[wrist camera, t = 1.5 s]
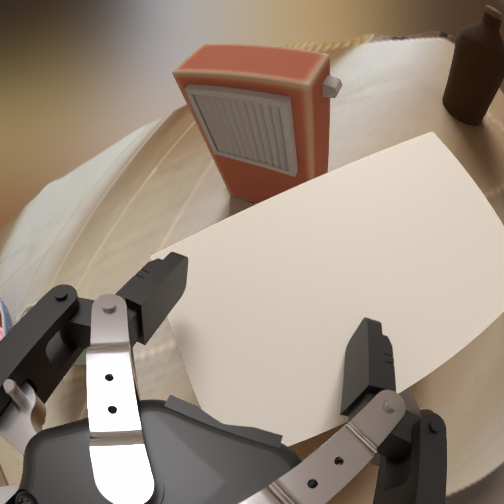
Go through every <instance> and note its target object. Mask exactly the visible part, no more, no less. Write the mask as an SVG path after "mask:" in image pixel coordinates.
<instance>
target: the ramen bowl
mask: <svg viewBox="0 0 504 504" xmlns="http://www.w3.org/2000/svg"><path fill="white" fill-rule="evenodd" d="M12 328H13V324H12V320H11V317H10V313H9V311H8V309H7V307H6V306H5V304H4V303H3V301H2V300H1V298H0V341H1V340H2V339H3V338H4V336H5V335H6V334H7V333H8V332H9V331H10V330H11V329H12Z"/></svg>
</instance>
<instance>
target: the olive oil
mask: <svg viewBox="0 0 504 504" xmlns="http://www.w3.org/2000/svg"><path fill="white" fill-rule="evenodd" d="M501 17H502V14H501V12H499V11H498V10H496V9H495V8H493V7H491V6H488V5H485V10H484V12H483V18H482V21H481V22H478V23H474V24H471V25H468V26H465V27H464V28H462V29H461V30H460V32H459V33H458V35H457V38H456V44H455V49H454V55H453V60H452V64H451V69H450V73H449V77H448V81H447V85H446V88H445V92H444V95H443V103H444V105H445V107H446V109H447V110H448V111H449V112H450V113H451V114H452V115H453V116H455V117H456V118H457V119H459V120H460V121H462V122H464V123H467V124H470V125H478V124H480V123H481V121H482V119H483V117H484V116H485V114H486V112H487V110H488V108H489V106H490V104H491V102H492V100H493V98H494V96H495V95H496V93H497V91H498V89H499V87H500V85H501V83H502V81H503V79H504V42H503V39H502V37H501V35H500V33H499V28H500V25H501V22H502V21H501Z"/></svg>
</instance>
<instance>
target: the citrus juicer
mask: <svg viewBox="0 0 504 504" xmlns="http://www.w3.org/2000/svg"><path fill="white" fill-rule="evenodd" d="M19 486H20V485H12V486H3V487H0V504H4V503H6V502H7V501H8V500H9V499H10V498H11V497H12V496H13V495H14V494H15V493H16V491H17V490H18V488H19Z"/></svg>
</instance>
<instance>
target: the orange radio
mask: <svg viewBox="0 0 504 504" xmlns="http://www.w3.org/2000/svg"><path fill="white" fill-rule="evenodd" d="M173 76H174V77H175V79H176V82H177V84H178V86H179V88H180V90H181V92H182V94H183V96H184V98H185V100H186V103H187V105H188V107H189V109H190V111H191V113H192V115H193V117H194V119H195V121H196V124H197V126H198V128H199V130H200V132H201V134H202V136H203V138H204V140H205V142H206V145H207V147H208V149H209V151H210V153H211V155H212V157H213V159H214V161H215V163H216V166H217V168H218V170H219V172H220V174H221V176H222V178H223V180H224V182H225V185H226V187H227V189H228V191H229V193H230V194H231V195H233V196H236V197H239V198H242V199H245V200H248V201H251V202H254V203H257V204H258V203H260V202H262V201H265V200H267V199H269V198H271V197H273V196H276V195H278V194H280V193H282V192H285V191H287V190H289V189H291V188H294V187H296V186H298V185H300V184H303V183H305V182H307V181H310V180H312V179H314V178H317V177H319V176H321V175H324V174H326V173H328V154H329V126H330V98H335V97H336V96H337V94H338V92H339V90H340V88H341V86H342V83H341V81H340V79H338V78H335V77H333V76H330V57H329V55H328V54H325V53H319V52H313V51H307V50H300V49H293V48H284V47H273V46H263V45H246V44H204V45H202V46H201V47H200V48H199V49H198V50H196V51H195V52H194V53H193V54H192V55H191V56H190V57H188V58H187V59H186V60H185V61H184V62H183V63H182V64H181V65H180V66H179V67H178V68H176V69H175V70H174V71H173Z"/></svg>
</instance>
